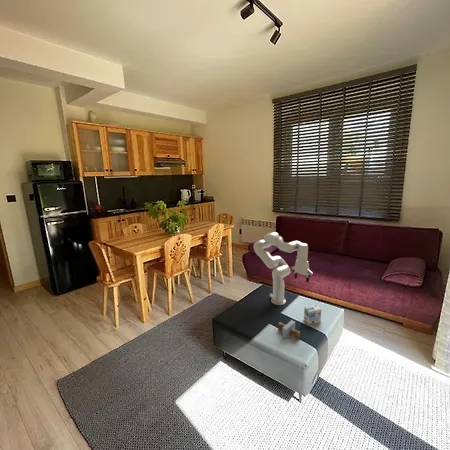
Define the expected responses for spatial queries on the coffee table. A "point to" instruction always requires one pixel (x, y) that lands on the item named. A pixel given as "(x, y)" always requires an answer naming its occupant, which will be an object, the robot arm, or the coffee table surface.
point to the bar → (288, 328)
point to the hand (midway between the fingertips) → (301, 279)
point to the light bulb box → (312, 314)
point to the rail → (293, 332)
